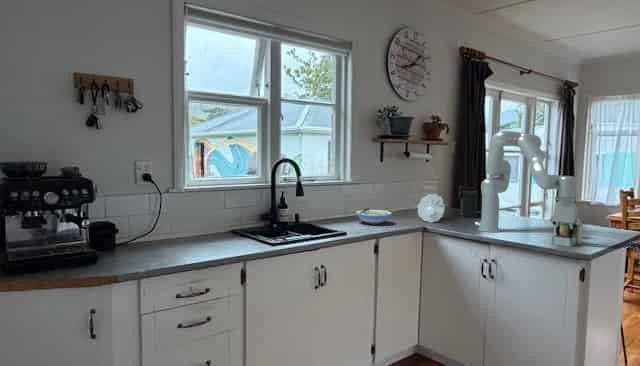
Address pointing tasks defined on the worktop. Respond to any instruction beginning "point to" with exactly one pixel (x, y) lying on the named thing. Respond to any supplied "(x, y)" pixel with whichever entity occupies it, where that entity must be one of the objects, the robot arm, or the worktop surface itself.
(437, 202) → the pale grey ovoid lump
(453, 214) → the worktop surface
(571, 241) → the cream block
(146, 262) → the worktop surface
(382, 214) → the ramen bowl
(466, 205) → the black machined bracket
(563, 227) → the tan cylinder
